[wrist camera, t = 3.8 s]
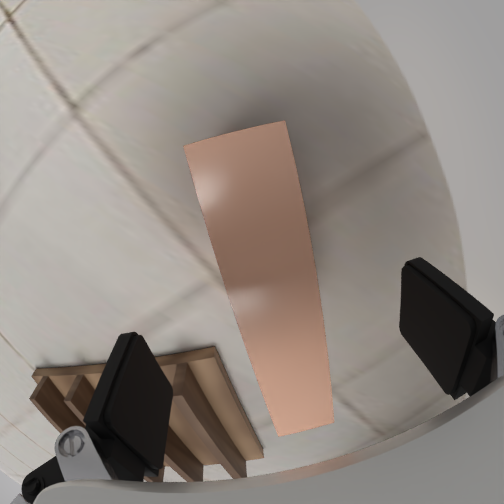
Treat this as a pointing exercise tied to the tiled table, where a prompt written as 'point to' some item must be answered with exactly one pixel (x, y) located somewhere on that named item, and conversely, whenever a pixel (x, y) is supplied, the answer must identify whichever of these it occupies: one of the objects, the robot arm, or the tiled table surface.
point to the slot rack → (181, 416)
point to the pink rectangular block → (267, 267)
